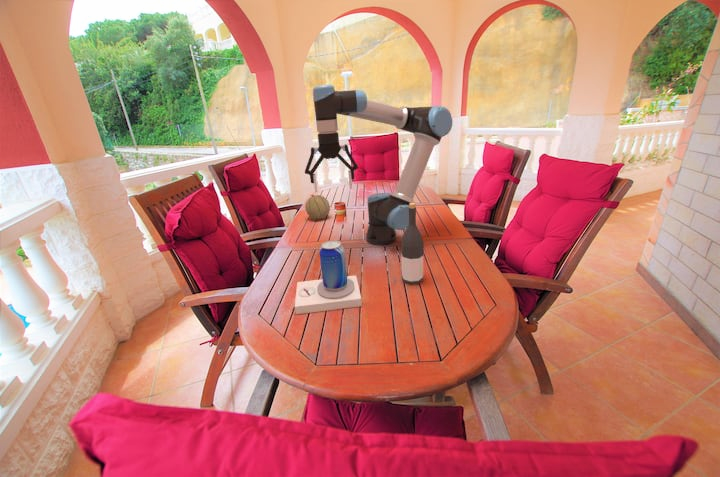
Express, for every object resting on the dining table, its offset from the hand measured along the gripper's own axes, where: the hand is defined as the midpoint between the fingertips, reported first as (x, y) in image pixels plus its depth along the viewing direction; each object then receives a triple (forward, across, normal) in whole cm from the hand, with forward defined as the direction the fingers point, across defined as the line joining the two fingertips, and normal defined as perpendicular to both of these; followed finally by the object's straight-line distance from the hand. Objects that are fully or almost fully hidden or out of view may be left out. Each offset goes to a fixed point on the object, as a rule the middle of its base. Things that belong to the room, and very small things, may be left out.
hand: (333, 189), depth 123 cm
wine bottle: (+33, -26, +20) cm, 46 cm away
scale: (+32, +6, +25) cm, 41 cm away
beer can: (+28, +4, +25) cm, 38 cm away
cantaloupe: (+33, +9, -64) cm, 73 cm away
